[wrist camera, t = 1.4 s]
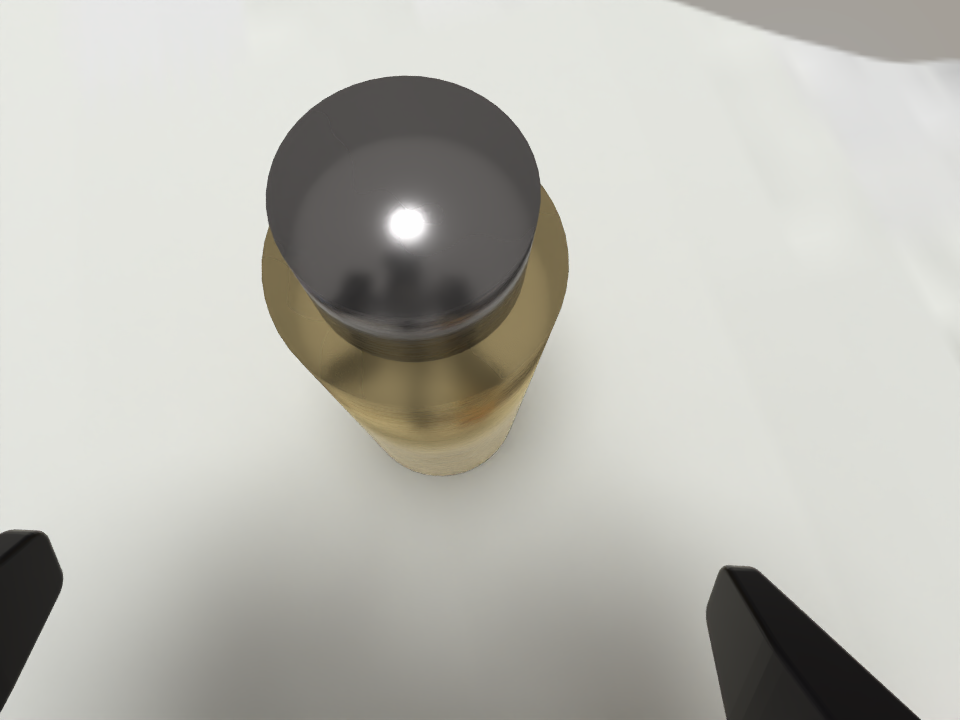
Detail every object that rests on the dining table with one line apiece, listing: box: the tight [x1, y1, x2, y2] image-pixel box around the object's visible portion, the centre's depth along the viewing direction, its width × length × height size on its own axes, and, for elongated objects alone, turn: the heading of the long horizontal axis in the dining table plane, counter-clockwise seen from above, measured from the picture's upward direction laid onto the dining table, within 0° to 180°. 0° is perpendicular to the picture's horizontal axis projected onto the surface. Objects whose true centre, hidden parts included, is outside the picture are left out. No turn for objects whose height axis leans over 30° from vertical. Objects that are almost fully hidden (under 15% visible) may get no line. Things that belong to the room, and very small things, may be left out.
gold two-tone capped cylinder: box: [262, 76, 569, 476], centre depth 14 cm, size 5×5×13 cm
